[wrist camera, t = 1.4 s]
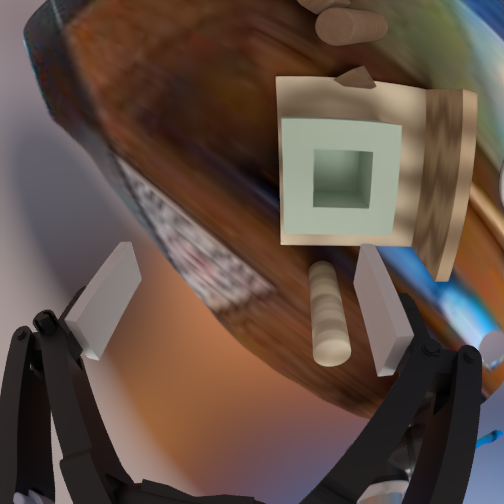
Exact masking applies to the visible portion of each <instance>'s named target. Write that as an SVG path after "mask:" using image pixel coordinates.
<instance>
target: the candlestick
mask: <svg viewBox="0 0 504 504" xmlns="http://www.w3.org/2000/svg"><path fill="white" fill-rule="evenodd" d="M499 190H500V197H501V201H502V204H503V206H504V162H503V164H502V168H501V172H500V180H499Z"/></svg>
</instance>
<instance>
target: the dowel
mask: <svg viewBox="0 0 504 504" xmlns="http://www.w3.org/2000/svg"><path fill="white" fill-rule="evenodd" d="M308 276H309V289H310V303H311V319H312V337H313V357H314V360H315V361H316V362H317V363H318V364H320V365H323V366H336V365H340V364H342V363H344V362H345V361H346V360H348V358H349V357H350V355H351V348H350V342H349V336H348V331H347V325H346V320H345V315H344V310H343V305H342V300H341V295H340V291H339V286H338V281H337V277H336V272H335V268H334V266H333V265H332V264H331V263H330V262H327V261H318V262H315V263H314V264H312V265H311V266H310V268H309V271H308Z"/></svg>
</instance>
